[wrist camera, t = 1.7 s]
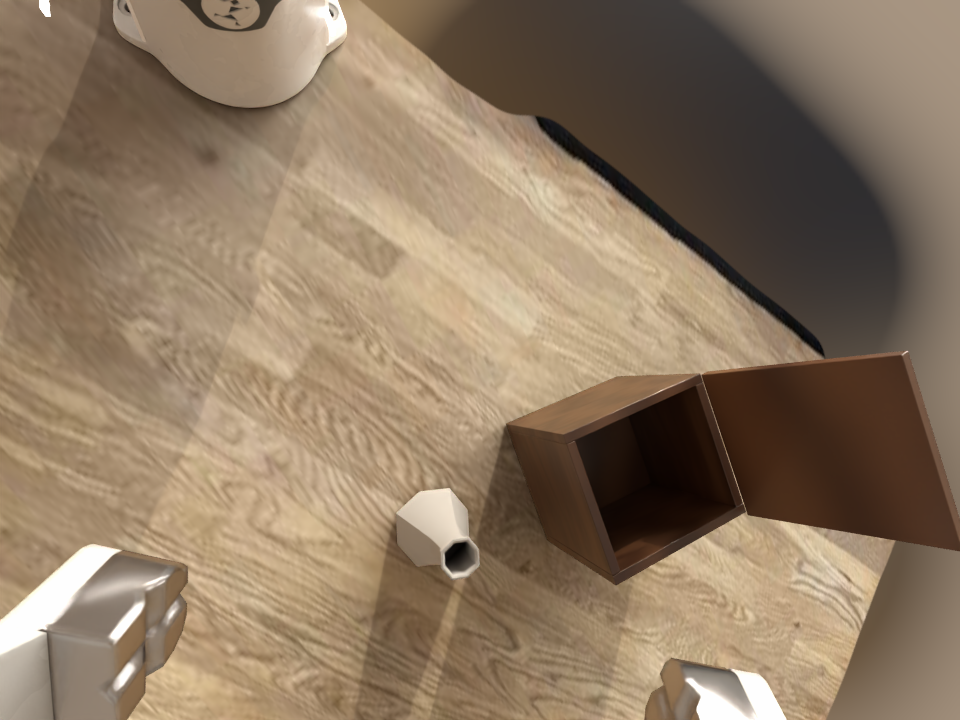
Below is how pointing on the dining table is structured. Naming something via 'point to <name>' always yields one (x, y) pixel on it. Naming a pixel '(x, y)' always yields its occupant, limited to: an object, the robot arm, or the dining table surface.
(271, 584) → the dining table surface
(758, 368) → the lid
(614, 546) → the chest
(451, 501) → the flask
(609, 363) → the dining table surface
